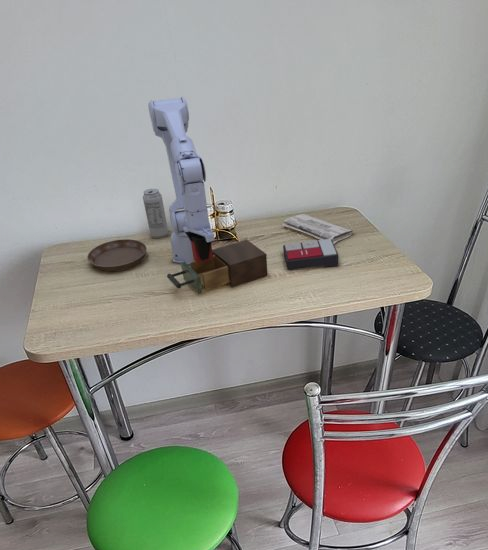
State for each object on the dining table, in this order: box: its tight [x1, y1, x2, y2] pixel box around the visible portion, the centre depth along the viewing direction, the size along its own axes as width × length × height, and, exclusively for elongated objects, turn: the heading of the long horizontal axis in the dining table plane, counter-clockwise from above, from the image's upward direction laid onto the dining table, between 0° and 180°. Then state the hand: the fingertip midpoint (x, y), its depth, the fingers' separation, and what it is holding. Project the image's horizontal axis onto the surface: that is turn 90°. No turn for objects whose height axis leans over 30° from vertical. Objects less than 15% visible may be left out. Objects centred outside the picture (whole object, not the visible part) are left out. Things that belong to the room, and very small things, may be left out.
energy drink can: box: [142, 188, 169, 239], centre depth 159 cm, size 6×6×15 cm
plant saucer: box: [86, 238, 148, 272], centre depth 149 cm, size 18×18×3 cm
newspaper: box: [281, 213, 354, 245], centre depth 161 cm, size 23×12×2 cm, turn 43°
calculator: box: [282, 239, 339, 271], centre depth 144 cm, size 11×4×15 cm
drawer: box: [166, 255, 231, 295], centre depth 133 cm, size 16×10×5 cm, turn 121°
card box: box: [191, 240, 213, 263], centre depth 129 cm, size 5×2×6 cm, turn 121°
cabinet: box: [212, 239, 268, 288], centre depth 138 cm, size 11×11×7 cm
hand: (202, 257), depth 130 cm, fingers closed on card box, 2 cm apart
